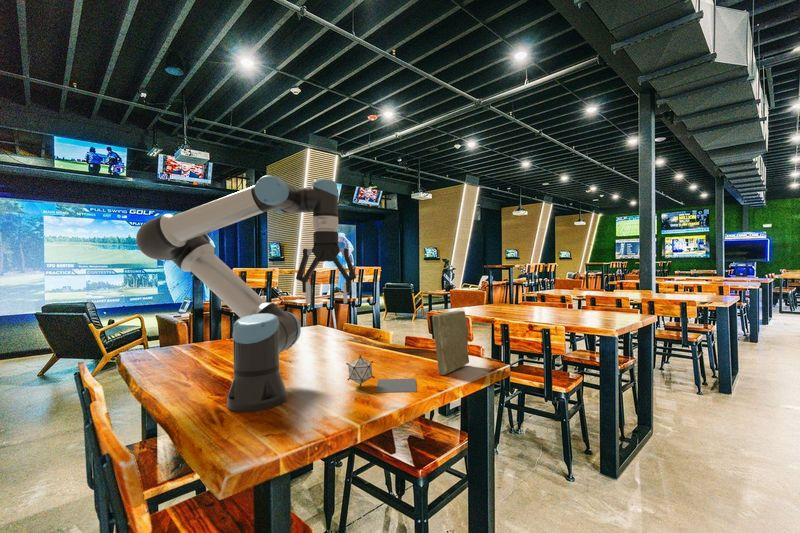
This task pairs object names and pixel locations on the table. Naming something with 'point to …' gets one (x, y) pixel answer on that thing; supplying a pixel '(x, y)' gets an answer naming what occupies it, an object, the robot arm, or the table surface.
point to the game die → (360, 370)
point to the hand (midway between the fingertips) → (326, 303)
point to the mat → (396, 385)
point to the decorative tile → (451, 340)
